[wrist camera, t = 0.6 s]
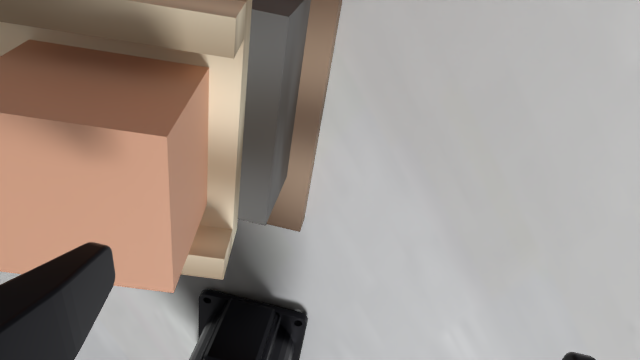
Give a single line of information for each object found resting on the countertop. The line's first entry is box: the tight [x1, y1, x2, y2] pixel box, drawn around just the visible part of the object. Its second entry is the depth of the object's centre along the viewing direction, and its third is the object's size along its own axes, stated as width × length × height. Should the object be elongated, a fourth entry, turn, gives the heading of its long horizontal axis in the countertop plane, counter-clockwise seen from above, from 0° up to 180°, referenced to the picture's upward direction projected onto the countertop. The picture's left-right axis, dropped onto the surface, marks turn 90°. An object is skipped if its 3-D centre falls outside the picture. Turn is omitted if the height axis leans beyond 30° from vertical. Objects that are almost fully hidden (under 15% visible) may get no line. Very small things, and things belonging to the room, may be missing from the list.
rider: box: [0, 40, 209, 293], centre depth 13 cm, size 5×5×4 cm
